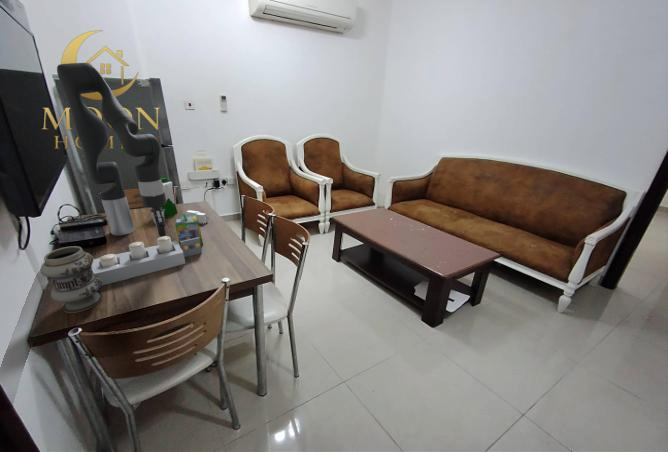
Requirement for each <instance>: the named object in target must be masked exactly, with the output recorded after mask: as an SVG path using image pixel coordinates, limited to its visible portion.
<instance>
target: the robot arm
mask: <svg viewBox="0 0 668 452" xmlns="http://www.w3.org/2000/svg"><path fill="white" fill-rule="evenodd" d="M56 72H57V77H58V80H59V83H60V85H61V87H62V90H63V92H64V94H65V97H66V100H67V103H68V105H69V108H70V111H71V115H72V117H73V121H74V126H75V130H76V132H77V136H78V139H79V142H80V145H81V147H82V150H83V155H84V157H85V163H86V166H87V172H88V175H89V178H90V180H91V182H92V183H93V184H95V185H105V184H113V185H110V187H108V188H107V189H104V190H102V191H100V193H99V198H100V200H101V204H102V205H103V209H104V212H105V217H106V219H107V223H108V225H109V226H108V227H109V229H110V232H111V235H113V236H125V235H128V234H129V235H130V234H132V233H134V232H135V231H136V229H135V225H134V221H133V217H132V214H131V210H130V207H129V202H128V199H127V195H126V192H125V189H124V185H123V180H122V174H121V170H120V167H119V165H118V164H117V162H115V161H105V162H104V161H102V162H99V161H98V160H99V157H100V156H101V154H102V153H103V151H104V150H105V148H106V147H107V145H108V143H109V134H108V131H107V130H108V129H107V126H106V123H107V124H108V125H109V126H110V128H111V129H112V130H113V131H114V132H115V133H116V135H117V137H118V141H120V143H121V146H122V149H123V151H124V152H125V153H126V154H127V155H128V156H130V157H132V158H133V157H134V158H140V157H144V160H143V161H141V162H139V163H137V164H135V167H134V170H135V175H136V178H137V183H138V189H139V194H140V199H141V202H142V206H143V207H145V208H151V209H149V211H150V214H151V217H152V220H153V222H154V224H155V226H156V228H157V232H158V236H159V237H163V236H167V234H166V229H165V227H166V223H165V221H166V219H165V217H164V211H163V209H162V208H160V207H161V206H163V205H165V204H166V203H167V201H166V196H165V192H164V187H163V183H162V181H161V178H162V177H161V174H160V169H159V166H160V156H161V145H160V141H159V140H158V138H157V137H156V136H154V135H153V134H151V133H143V134H138V133H139V130H140V129H139V125H138V124H137V123H138V122H136V121H135V120H134V119H133V118H132V116H131V115H130V114H129V113H128V112H127V111H126V110H125V109H124V107H123V105H122V104H121V103H120V102H119V100H118V99H117V97H116V96H115V94H114V92H113V90H112V89H111V87H110V86H109V85H108V83H107V81H106V79H104V76H103V75H102V74H101V72H100V71H99V70H98V69H97V68H96V67H95V66H94V65H93V64H92V63H89V62H71V63H61V64H58V65H57V66H56ZM94 93H99V94H100V96H101V100H102V103H101V114H102V117H103V119H104V120H105V121H106V123H105V122H104V120H103V119H102V118H101V117H100V116H98V115H97V114H96V113H94V111H92V109H90V108H88V106H87V105H86V104H85V103H84V102H83V100H82V98H81V97H82V96H81V95H85V94H94Z"/></svg>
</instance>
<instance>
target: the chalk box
mask: <svg viewBox="0 0 668 452" xmlns="http://www.w3.org/2000/svg"><path fill="white" fill-rule="evenodd" d="M181 212H182V215H183V216H179V217H175V224H174V225H175V229H176V233H177V236H178V243H179V245H180V247H181V242H180V241H184V240H189V239H193V238H198V237H199V238H200V244H201V246H203V245H204V242H203V237H202V236H203V235H202V232H201V228H200V223H199V221H198V216H197V215H194V216H187V214H186V213H185V212H184V211H181ZM181 249H182V247H181Z"/></svg>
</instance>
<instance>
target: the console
mask: <svg viewBox="0 0 668 452" xmlns="http://www.w3.org/2000/svg"><path fill="white" fill-rule="evenodd" d="M171 243H172V247H173V250H172V251H170V252H167V253H161V252H160V251H159V247H158V244H157V245H153V246H148V247H144V248H145V251H146V256H145V257H144V258H141V259H132V256H131V253H130V250H129V251H125V252H121V253H115V255H116V258H117V261H118V265H113V266H109V267H105V268H102V265H101V262H100V258H101V257H97V258H93V263H92V265H91V268H92V271H93V273H94V274H95V275H97V276H99V277H100V278H101V279H102V286H105V285H106V286H107V285H109V284H112V283H118V282H121V281H125V280H129V279H131V278H132V279H133V278H135V277H139V276H144V275H147V274H151V273H152V274H153V273H155V272H158V271H162V270H167V269H169V268H170V269H171V268H174V267H177V266H183V265H185V264H186V259H185V257H184V254H183V251H182V249H181V247H180V243H179V240H178V241H177V240H175V241H171Z"/></svg>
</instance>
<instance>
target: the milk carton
mask: <svg viewBox="0 0 668 452" xmlns="http://www.w3.org/2000/svg"><path fill="white" fill-rule="evenodd" d="M161 181H162V183H163V187H164V192H165V196H166V201H167V203H166V204H165V205H163V206H161V207H160V208H162V209H163V211H164V218H170V217H173V216H174V215H177V214H178V209H177V206H176V202H175V195H174V192H173V181H169V180H168V178H167V177H161Z"/></svg>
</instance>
